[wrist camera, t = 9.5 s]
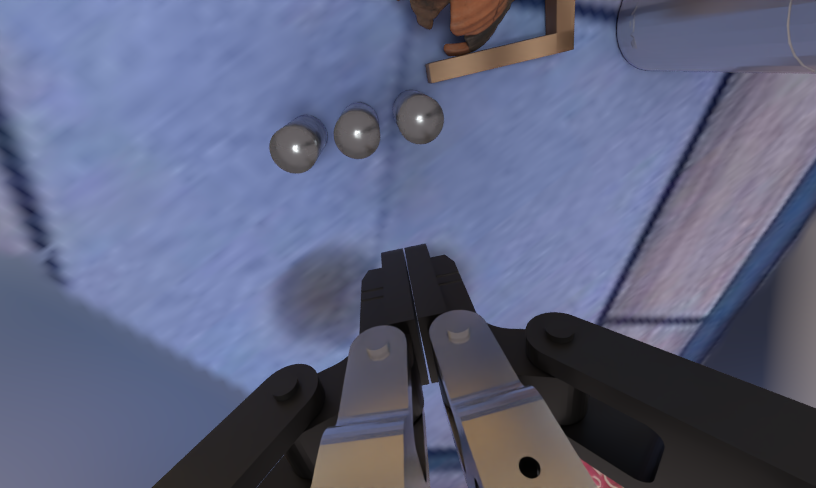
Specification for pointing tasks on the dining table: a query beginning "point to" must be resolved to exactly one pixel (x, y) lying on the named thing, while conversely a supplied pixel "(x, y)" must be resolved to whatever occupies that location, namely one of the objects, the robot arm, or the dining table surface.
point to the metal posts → (355, 131)
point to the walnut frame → (514, 46)
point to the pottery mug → (464, 20)
